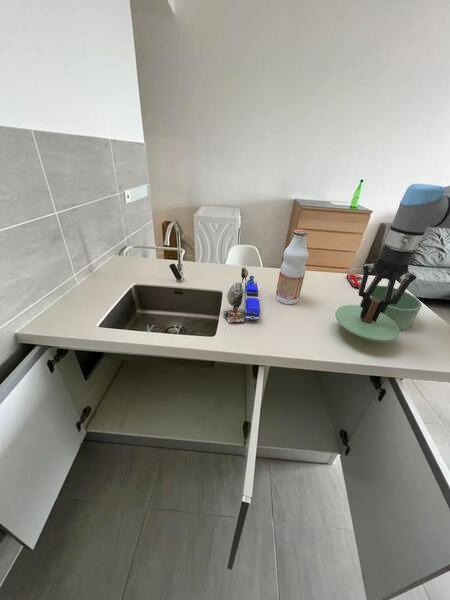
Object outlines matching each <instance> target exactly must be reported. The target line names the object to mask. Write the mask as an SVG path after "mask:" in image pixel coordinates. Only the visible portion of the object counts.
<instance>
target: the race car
mask: <svg viewBox="0 0 450 600" xmlns="http://www.w3.org/2000/svg"><path fill="white" fill-rule="evenodd" d="M362 277H363V276H362V275H359V274H357V273H353V272H349V273H347V274H346V280H348V282H349V284H350V286H351V287H353V288H358V289H359V288H360V284H361V281H362Z"/></svg>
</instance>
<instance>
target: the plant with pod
mask: <svg viewBox="0 0 450 600" xmlns="http://www.w3.org/2000/svg"><path fill="white" fill-rule="evenodd" d="M240 275H241V281H238V282H237V281H236V282H234V283H233V284H232V285H231V286H230V287H229V289H228V291H227V293H226V299H227V302H228V304H229V305H230V306H231V307H232V309H229V310H224V311H222V315H223V317H224V318H225V319H226V320H227V322H228V324H231V323H243V324H244V323H245V322H246V319H245V313H244V312H242V311H241V310H240V309H239V308H240V307H241V305H242V303H243V298H244V297H243V296H244V289H243V288H244V287H243V283H244V282H245V281H246V282H247V281H248V280H247V278H248V277H249V272H248V269H247V268H246V267H242V268H241V273H240Z"/></svg>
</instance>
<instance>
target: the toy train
mask: <svg viewBox="0 0 450 600" xmlns="http://www.w3.org/2000/svg"><path fill="white" fill-rule="evenodd" d="M248 277H249V278H248V280H247V281H245V280H244V316H245V320H246V321H249V320H251V321H259V320H260V314H261V306H260V296H259V288H258V280H257V279H256V280H255V276H254V275H248Z"/></svg>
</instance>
